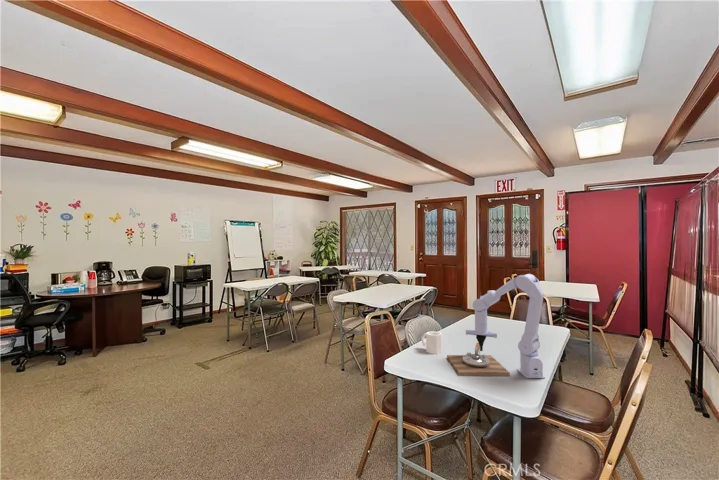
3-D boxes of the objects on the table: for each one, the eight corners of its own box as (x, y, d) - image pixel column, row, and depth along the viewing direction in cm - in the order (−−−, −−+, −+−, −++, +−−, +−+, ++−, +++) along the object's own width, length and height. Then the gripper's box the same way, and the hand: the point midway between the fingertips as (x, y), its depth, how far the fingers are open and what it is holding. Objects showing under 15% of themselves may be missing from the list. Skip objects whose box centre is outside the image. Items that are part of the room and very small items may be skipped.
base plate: (509, 376, 141) (509, 372, 141) (459, 375, 141) (459, 371, 141) (490, 357, 163) (490, 354, 163) (446, 357, 164) (446, 354, 164)
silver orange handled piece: (488, 369, 144) (488, 356, 144) (461, 364, 149) (460, 353, 149) (491, 355, 162) (491, 344, 162) (466, 352, 167) (466, 341, 167)
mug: (445, 351, 173) (444, 333, 174) (437, 355, 167) (436, 336, 167) (425, 346, 182) (425, 329, 182) (417, 350, 175) (417, 332, 175)
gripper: (497, 322, 160) (497, 350, 160) (467, 319, 166) (467, 346, 166) (496, 326, 154) (496, 354, 153) (464, 322, 160) (465, 350, 160)
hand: (481, 350), depth 159 cm, fingers closed
